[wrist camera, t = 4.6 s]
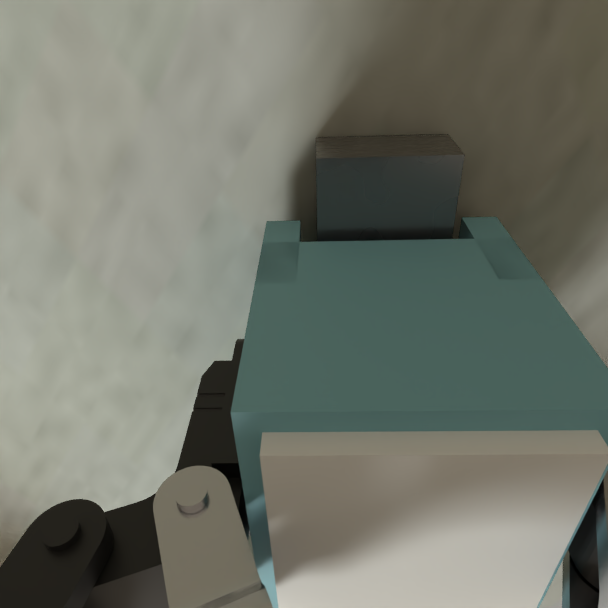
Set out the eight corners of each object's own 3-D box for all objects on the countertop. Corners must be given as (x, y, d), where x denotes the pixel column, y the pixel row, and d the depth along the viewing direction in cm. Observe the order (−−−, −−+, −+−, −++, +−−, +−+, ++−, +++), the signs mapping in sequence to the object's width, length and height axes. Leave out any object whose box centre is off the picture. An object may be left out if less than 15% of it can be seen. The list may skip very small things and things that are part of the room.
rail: (315, 137, 11) (316, 158, 10) (447, 134, 11) (464, 154, 10) (322, 532, 20) (322, 568, 19) (395, 531, 20) (400, 568, 19)
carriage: (267, 221, 12) (226, 435, 6) (496, 216, 12) (655, 433, 6) (281, 401, 15) (262, 640, 10) (458, 399, 15) (540, 643, 10)
